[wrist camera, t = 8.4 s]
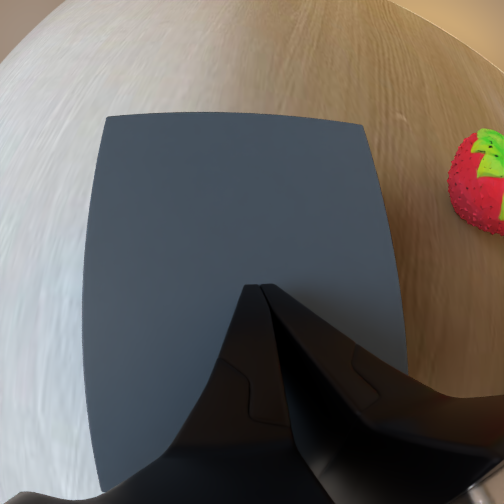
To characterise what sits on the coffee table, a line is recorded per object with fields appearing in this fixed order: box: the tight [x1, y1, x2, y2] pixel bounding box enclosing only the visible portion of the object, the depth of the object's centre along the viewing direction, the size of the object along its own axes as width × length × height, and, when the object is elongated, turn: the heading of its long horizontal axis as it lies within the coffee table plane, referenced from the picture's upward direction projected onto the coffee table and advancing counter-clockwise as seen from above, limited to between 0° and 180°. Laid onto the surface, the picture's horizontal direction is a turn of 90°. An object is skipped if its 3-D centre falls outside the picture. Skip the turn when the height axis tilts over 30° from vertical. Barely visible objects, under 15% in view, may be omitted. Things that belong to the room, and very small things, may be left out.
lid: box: [82, 112, 408, 492], centre depth 10 cm, size 13×11×1 cm
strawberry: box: [447, 129, 504, 236], centre depth 16 cm, size 6×7×10 cm
